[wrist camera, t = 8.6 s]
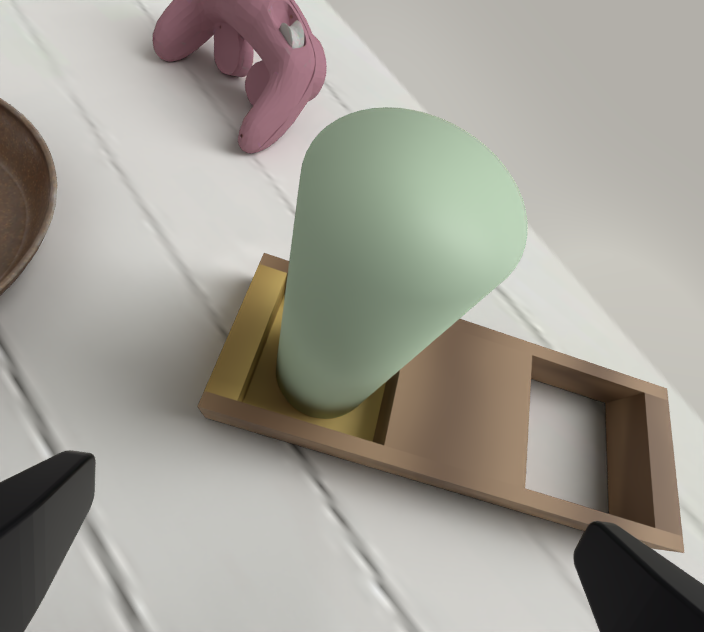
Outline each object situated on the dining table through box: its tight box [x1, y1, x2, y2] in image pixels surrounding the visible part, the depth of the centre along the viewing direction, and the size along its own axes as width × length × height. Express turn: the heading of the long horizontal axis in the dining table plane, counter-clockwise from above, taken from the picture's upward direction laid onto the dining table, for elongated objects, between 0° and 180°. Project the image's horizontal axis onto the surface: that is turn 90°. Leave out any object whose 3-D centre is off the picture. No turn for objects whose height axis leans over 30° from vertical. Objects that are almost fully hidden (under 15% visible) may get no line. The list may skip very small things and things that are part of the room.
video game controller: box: [153, 0, 326, 153], centre depth 22 cm, size 10×5×7 cm, turn 41°
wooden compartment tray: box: [197, 253, 684, 553], centre depth 18 cm, size 20×7×2 cm, turn 75°
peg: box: [276, 108, 527, 419], centre depth 13 cm, size 4×4×12 cm
